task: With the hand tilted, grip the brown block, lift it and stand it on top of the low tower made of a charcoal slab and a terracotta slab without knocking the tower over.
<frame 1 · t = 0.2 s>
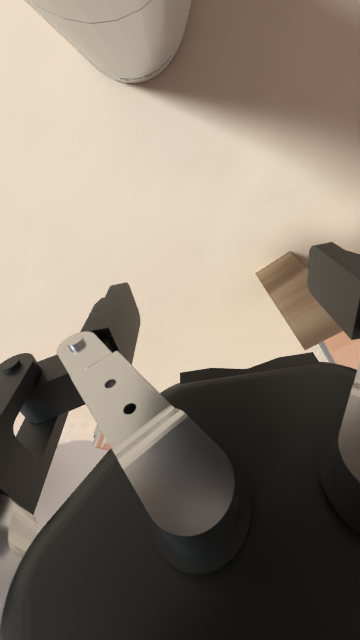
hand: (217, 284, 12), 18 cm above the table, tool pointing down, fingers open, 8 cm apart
upper slab: (359, 340, 36), point 2 cm above the table
brown block: (280, 276, 32), on the table
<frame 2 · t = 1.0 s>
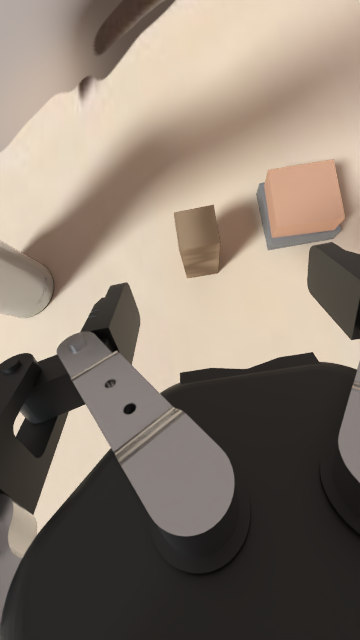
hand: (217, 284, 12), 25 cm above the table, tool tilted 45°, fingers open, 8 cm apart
lower slab: (292, 218, 39), on the table, touching upper slab
upper slab: (297, 206, 36), point 2 cm above the table, touching lower slab
brown block: (200, 261, 39), on the table
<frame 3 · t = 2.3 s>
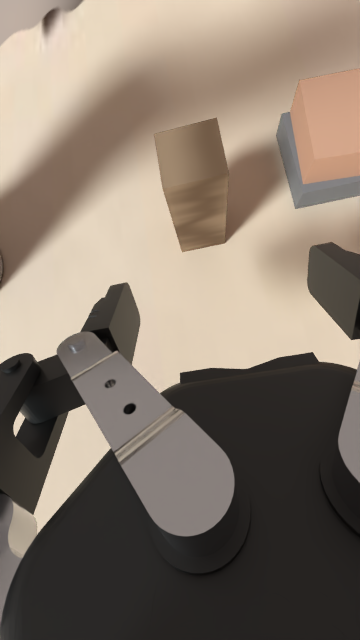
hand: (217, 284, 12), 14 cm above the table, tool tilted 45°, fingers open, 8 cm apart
lower slab: (327, 164, 27), on the table, touching upper slab
upper slab: (340, 140, 25), point 2 cm above the table, touching lower slab
brown block: (199, 228, 28), on the table
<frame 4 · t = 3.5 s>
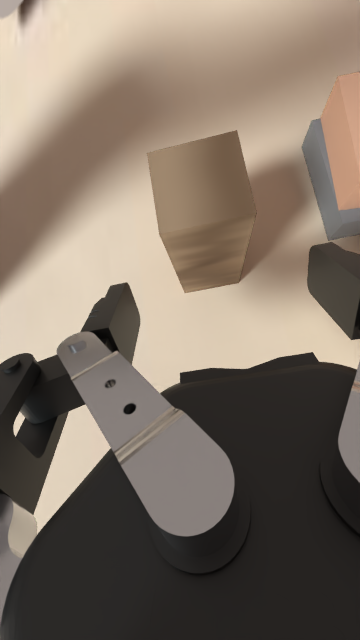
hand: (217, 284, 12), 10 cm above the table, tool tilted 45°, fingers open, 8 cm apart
brown block: (206, 263, 22), on the table
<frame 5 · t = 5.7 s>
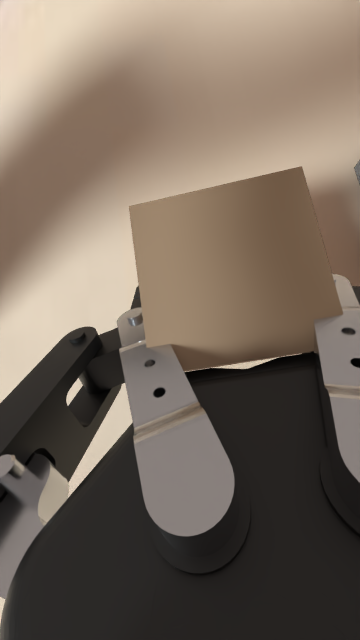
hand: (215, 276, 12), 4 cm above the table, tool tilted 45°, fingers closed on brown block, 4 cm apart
brown block: (221, 328, 16), on the table, touching gripper
when the fingers open (12 cm above the table, at t = 10.9 s): brown block drops 2 cm, resting on upper slab.
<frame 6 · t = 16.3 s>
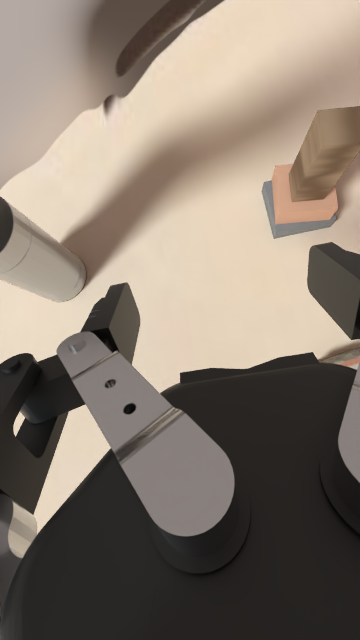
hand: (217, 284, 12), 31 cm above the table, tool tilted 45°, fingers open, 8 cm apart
lower slab: (293, 210, 44), on the table, touching upper slab
upper slab: (299, 199, 41), point 2 cm above the table, touching lower slab, brown block
packaged product: (356, 416, 38), on the table
brown block: (305, 186, 38), point 6 cm above the table, touching upper slab
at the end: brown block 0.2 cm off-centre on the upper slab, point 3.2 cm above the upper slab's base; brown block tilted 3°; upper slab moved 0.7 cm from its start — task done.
